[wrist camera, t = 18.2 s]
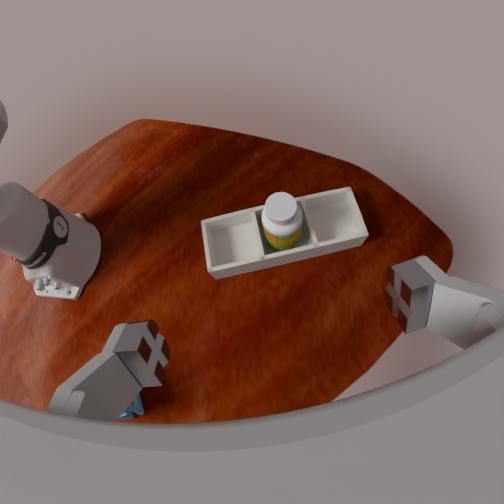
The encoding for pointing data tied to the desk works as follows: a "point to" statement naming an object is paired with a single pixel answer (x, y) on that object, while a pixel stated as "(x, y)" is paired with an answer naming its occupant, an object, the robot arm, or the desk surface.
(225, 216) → the well holder
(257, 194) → the desk surface
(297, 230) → the supplement bottle
